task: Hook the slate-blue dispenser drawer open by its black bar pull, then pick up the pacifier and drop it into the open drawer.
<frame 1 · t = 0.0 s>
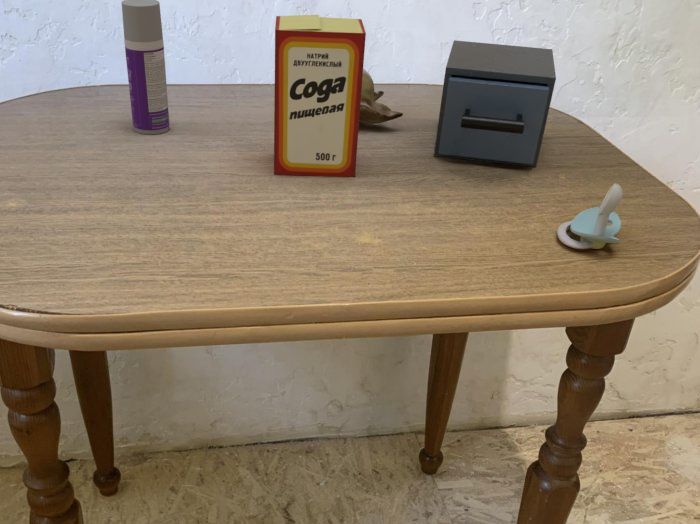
ceramic sculpture: (339, 122, 106), on the table
pacifier: (585, 242, 79), on the table
baking soda box: (313, 166, 93), on the table
container: (151, 129, 101), on the table
drawer: (492, 112, 94), point 5 cm above the table, slide at 0.5 cm
cabinet: (486, 143, 101), on the table
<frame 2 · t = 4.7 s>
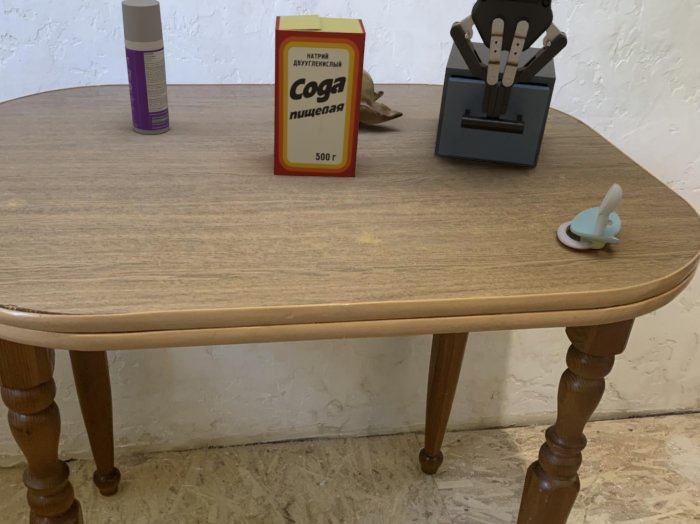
hand: (493, 117, 88), 7 cm above the table, tool pointing down, fingers closed
drawer: (492, 113, 94), point 5 cm above the table, slide at 0.6 cm, touching gripper
everything else where it was.
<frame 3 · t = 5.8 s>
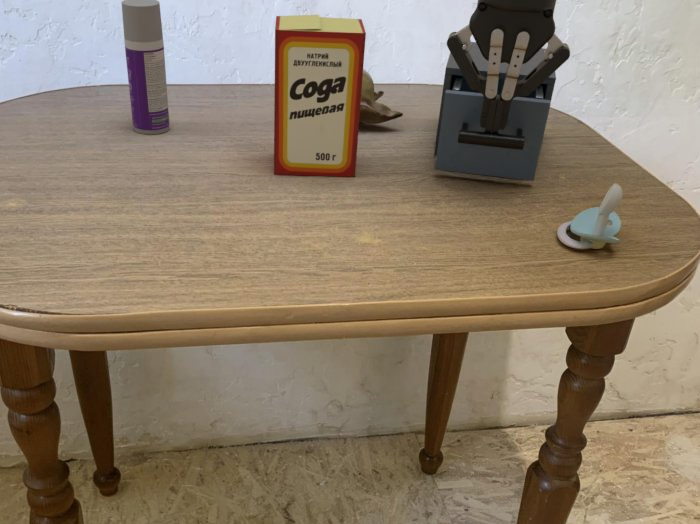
hand: (491, 131, 84), 7 cm above the table, tool pointing down, fingers closed
drawer: (491, 126, 90), point 5 cm above the table, slide at 5.8 cm, touching gripper
everything else where it was.
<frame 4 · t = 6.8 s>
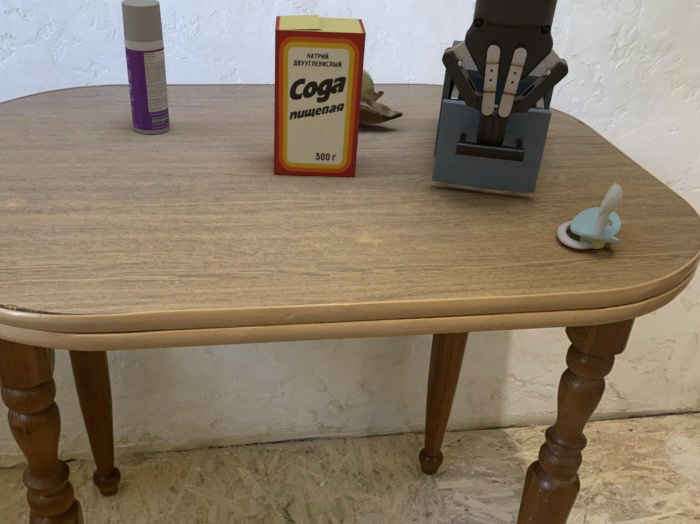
hand: (488, 148, 82), 6 cm above the table, tool pointing down, fingers closed
drawer: (490, 136, 87), point 5 cm above the table, slide at 9.3 cm
everything else where it was.
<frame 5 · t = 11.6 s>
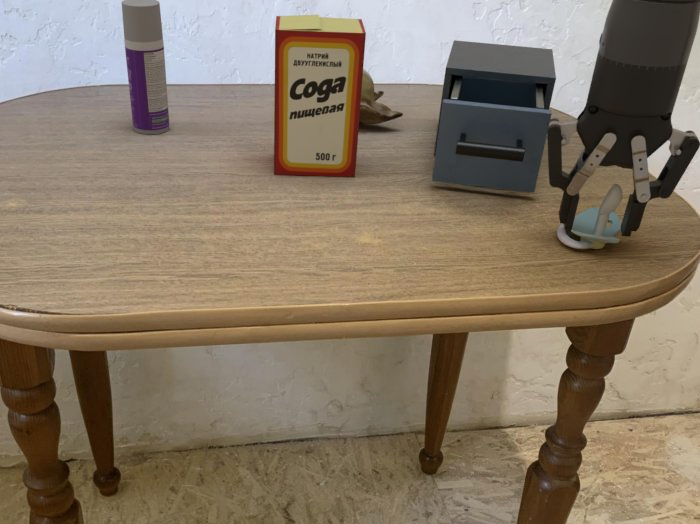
hand: (596, 229, 78), 1 cm above the table, tool pointing down, fingers closed on pacifier, 5 cm apart
pacifier: (585, 242, 79), on the table, touching gripper
everything else where it was.
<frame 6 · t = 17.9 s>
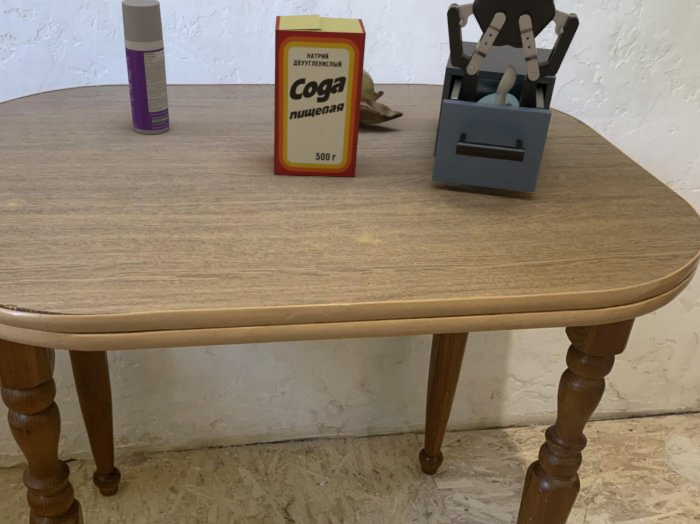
hand: (495, 109, 87), 8 cm above the table, tool pointing down, fingers closed on pacifier, 5 cm apart
pacifier: (487, 122, 88), point 6 cm above the table, touching gripper
everything else where it was.
when the fingers open (11 cm above the table, at t = 36.4 s): pacifier drops 8 cm, resting on drawer.
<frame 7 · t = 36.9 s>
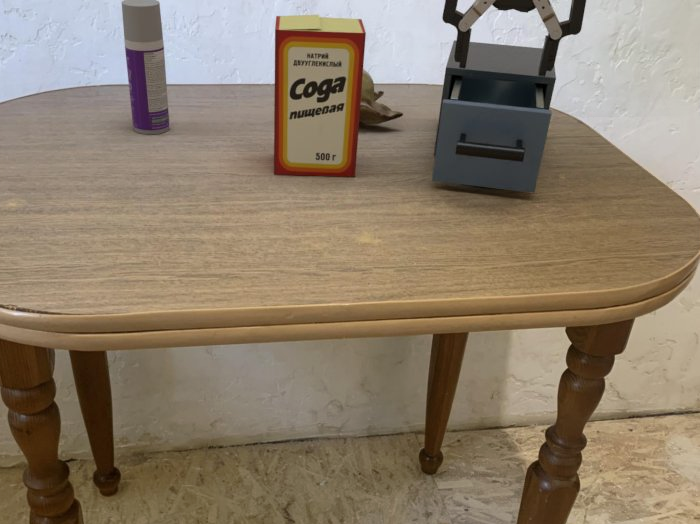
hand: (502, 70, 84), 12 cm above the table, tool pointing down, fingers open, 8 cm apart
pacifier: (481, 161, 90), point 2 cm above the table, touching drawer
drawer: (490, 136, 87), point 5 cm above the table, slide at 9.4 cm, touching pacifier
everything else where it was.
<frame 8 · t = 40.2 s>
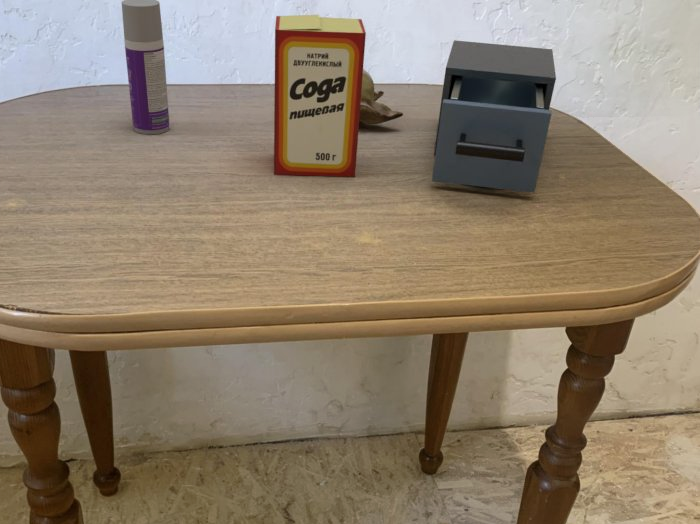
nothing on the table moved.
at the end: drawer slide at 9.4 cm; pacifier inside the target area in the drawer (0.9 cm from its centre), point 1.8 cm above the cabinet's base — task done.
